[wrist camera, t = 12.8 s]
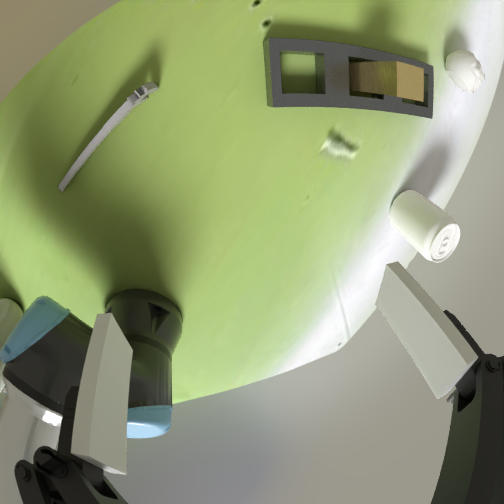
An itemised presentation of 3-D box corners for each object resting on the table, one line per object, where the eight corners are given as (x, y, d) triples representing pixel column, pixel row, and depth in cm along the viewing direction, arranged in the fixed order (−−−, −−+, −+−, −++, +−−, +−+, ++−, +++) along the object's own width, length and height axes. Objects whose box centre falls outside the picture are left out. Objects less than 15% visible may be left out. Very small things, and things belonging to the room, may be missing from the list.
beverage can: (423, 188, 42) (467, 219, 32) (414, 226, 46) (452, 261, 36) (392, 187, 41) (437, 221, 31) (383, 229, 45) (421, 268, 35)
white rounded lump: (460, 93, 31) (491, 101, 25) (436, 81, 30) (468, 87, 24) (462, 56, 27) (492, 61, 21) (437, 41, 26) (469, 43, 20)
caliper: (154, 82, 27) (144, 80, 22) (160, 88, 28) (150, 87, 23) (59, 186, 32) (39, 204, 26) (63, 191, 32) (44, 209, 27)
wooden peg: (367, 92, 31) (423, 101, 21) (344, 89, 31) (396, 96, 21) (367, 66, 29) (423, 68, 19) (343, 63, 29) (396, 60, 19)
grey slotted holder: (420, 115, 34) (432, 118, 31) (267, 105, 31) (272, 107, 29) (421, 65, 29) (433, 66, 26) (263, 42, 26) (268, 37, 24)
